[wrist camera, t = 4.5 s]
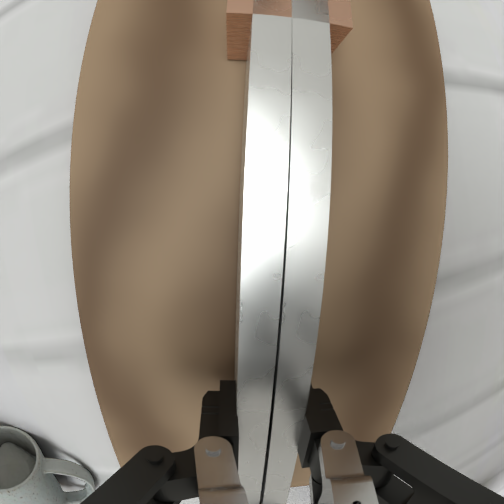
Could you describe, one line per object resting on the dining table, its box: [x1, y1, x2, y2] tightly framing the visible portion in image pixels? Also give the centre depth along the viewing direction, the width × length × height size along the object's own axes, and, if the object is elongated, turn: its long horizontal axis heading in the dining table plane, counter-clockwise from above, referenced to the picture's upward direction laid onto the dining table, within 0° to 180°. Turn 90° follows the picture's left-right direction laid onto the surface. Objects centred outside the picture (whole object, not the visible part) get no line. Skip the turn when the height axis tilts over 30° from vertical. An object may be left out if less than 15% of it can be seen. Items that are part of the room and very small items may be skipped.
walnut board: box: [70, 0, 448, 504], centre depth 11 cm, size 18×32×6 cm, turn 178°
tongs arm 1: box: [260, 0, 353, 504], centre depth 11 cm, size 24×2×4 cm, turn 178°
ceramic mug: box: [0, 426, 95, 504], centre depth 13 cm, size 10×8×7 cm
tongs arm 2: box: [226, 0, 292, 504], centre depth 11 cm, size 24×2×4 cm, turn 178°
